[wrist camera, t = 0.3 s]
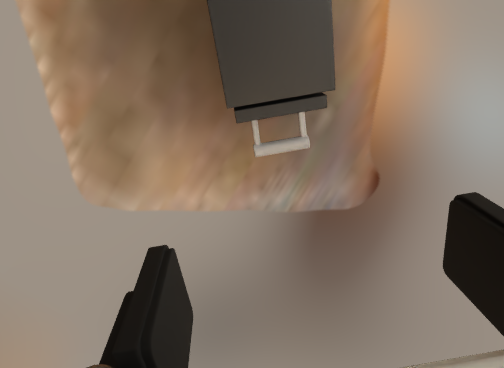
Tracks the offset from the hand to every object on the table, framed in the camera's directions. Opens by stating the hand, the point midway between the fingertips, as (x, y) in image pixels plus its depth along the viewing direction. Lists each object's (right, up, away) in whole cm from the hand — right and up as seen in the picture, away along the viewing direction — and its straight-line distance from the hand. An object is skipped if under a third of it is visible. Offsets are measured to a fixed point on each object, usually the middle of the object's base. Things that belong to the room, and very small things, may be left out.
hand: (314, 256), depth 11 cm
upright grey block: (-1, +20, +24) cm, 31 cm away
